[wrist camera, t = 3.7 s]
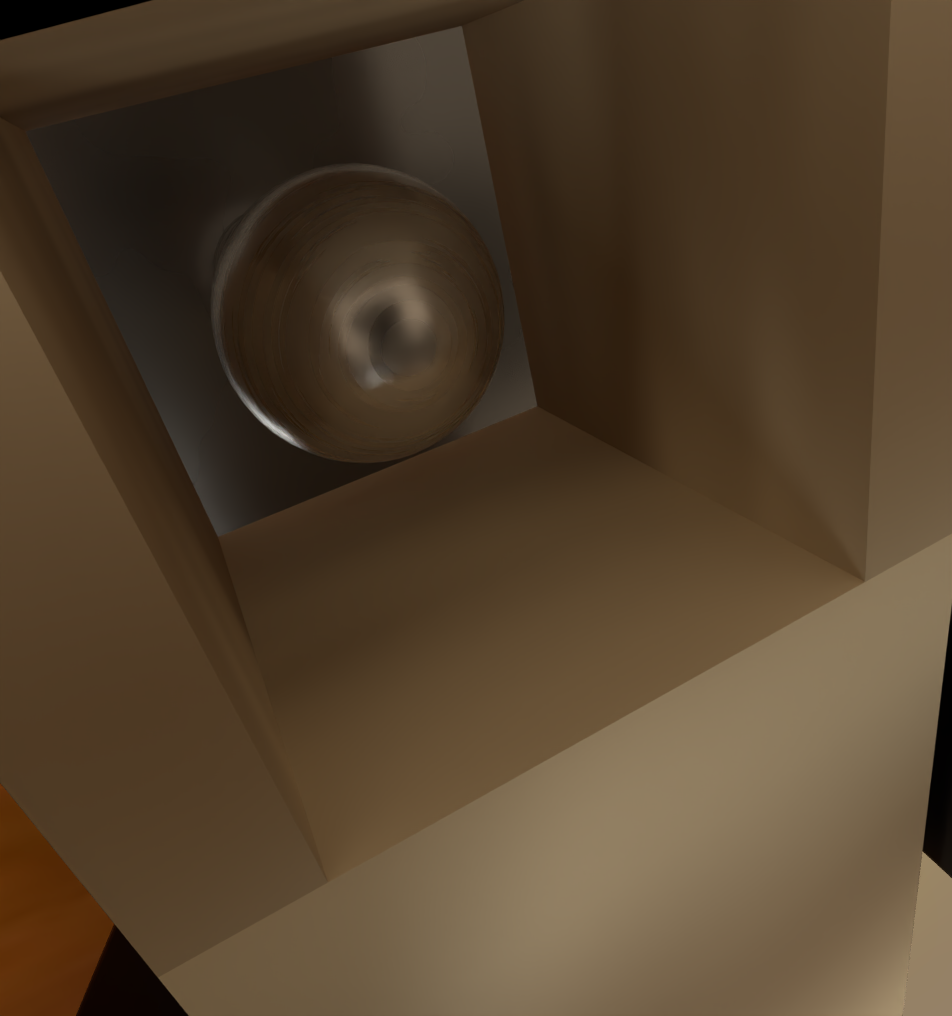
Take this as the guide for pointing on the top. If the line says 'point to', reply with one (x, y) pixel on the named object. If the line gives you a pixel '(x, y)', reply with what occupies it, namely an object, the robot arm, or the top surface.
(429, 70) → the stud base
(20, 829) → the top surface
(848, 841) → the beige rectangular block
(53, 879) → the top surface
